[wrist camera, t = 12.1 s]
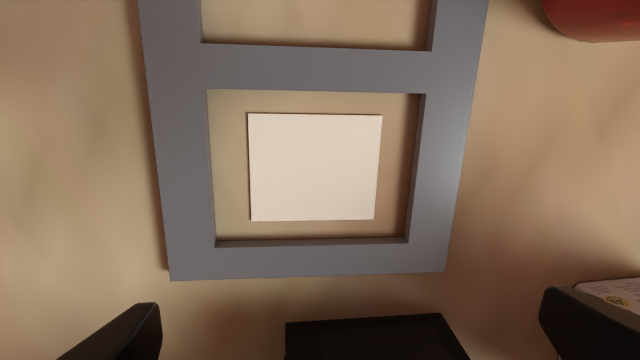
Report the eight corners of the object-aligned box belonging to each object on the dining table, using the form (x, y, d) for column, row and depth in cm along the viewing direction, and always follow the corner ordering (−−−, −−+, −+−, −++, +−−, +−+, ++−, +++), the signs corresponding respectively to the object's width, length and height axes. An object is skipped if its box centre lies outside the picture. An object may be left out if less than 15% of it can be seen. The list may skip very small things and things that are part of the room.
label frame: (439, 264, 22) (444, 272, 22) (174, 272, 21) (170, 281, 20) (527, -306, 14) (541, -327, 13) (101, -373, 12) (89, -400, 12)
